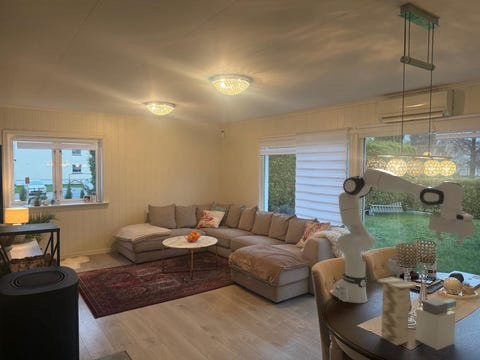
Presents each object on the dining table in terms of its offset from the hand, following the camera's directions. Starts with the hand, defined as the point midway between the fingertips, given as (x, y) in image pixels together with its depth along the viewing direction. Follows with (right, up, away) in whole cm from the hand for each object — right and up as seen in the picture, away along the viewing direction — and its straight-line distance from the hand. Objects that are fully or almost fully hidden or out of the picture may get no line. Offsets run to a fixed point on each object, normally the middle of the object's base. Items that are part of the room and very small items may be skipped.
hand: (449, 242), depth 161 cm
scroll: (+19, -39, +77) cm, 88 cm away
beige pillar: (-34, -41, -14) cm, 55 cm away
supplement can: (+36, -40, +79) cm, 95 cm away
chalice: (+6, -40, +66) cm, 77 cm away
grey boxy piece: (-12, -27, -13) cm, 33 cm away
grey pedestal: (-16, -41, -15) cm, 47 cm away
